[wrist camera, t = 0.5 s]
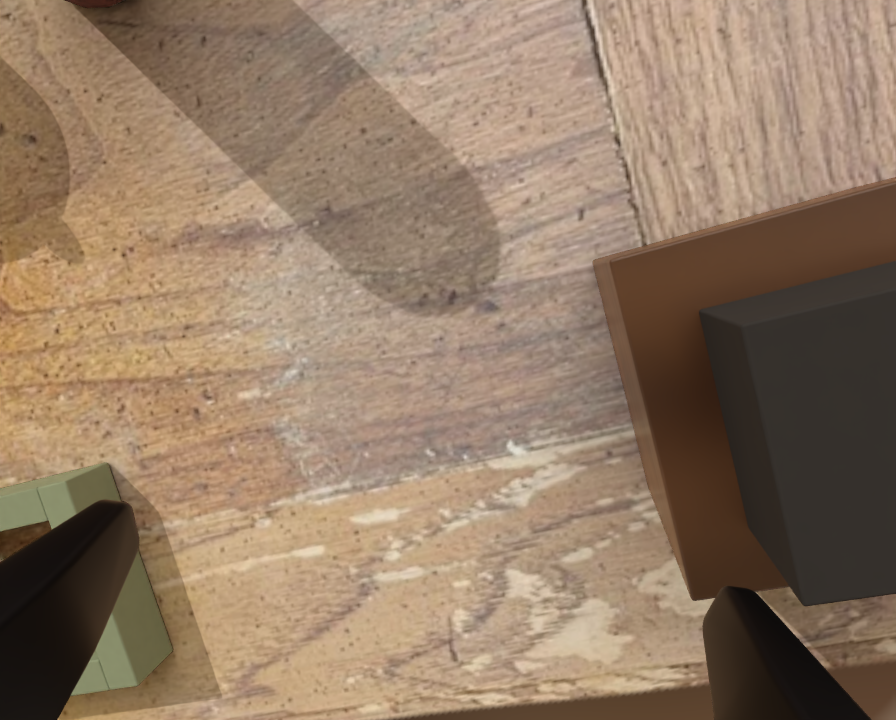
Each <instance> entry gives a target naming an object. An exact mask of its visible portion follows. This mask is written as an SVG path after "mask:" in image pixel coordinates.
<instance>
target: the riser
mask: <svg viewBox="0 0 896 720" xmlns="http://www.w3.org/2000/svg"><path fill="white" fill-rule="evenodd" d="M893 261H896V177H895V178H891V179H887V180H883V181H879V182H875V183H871V184H867V185H863V186H859V187H855V188H852V189H848V190H844V191H841V192H837V193H834V194H830V195H826V196H823V197H819V198H815V199H812V200H808V201H805V202H801V203H797V204H794V205H790V206H786V207H783V208H779V209H776V210H772V211H768V212H765V213H761V214H758V215H754V216H750V217H747V218H743V219H739V220H736V221H732V222H729V223H725V224H721V225H718V226H714V227H710V228H707V229H703V230H700V231H696V232H692V233H689V234H685V235H681V236H678V237H674V238H671V239H667V240H663V241H660V242H656V243H653V244H649V245H645V246H642V247H638V248H634V249H631V250H627V251H624V252H620V253H616V254H613V255H609V256H605V257H602V258H598V259H595V260H593V266H594V270H595V274H596V278H597V282H598V286H599V290H600V294H601V298H602V303H603V307H604V311H605V315H606V319H607V323H608V327H609V331H610V335H611V339H612V343H613V347H614V351H615V355H616V359H617V363H618V367H619V371H620V375H621V379H622V383H623V387H624V391H625V395H626V399H627V403H628V407H629V411H630V415H631V419H632V424H633V428H634V432H635V436H636V440H637V444H638V448H639V452H640V456H641V460H642V464H643V468H644V472H645V476H646V480H647V484H648V488H649V490H650V493H651V496H652V498H653V501H654V503H655V506H656V508H657V511H658V514H659V516H660V519H661V521H662V524H663V527H664V529H665V532H666V534H667V537H668V540H669V542H670V545H671V547H672V550H673V553H674V555H675V558H676V560H677V563H678V565H679V568H680V571H681V573H682V576H683V578H684V581H685V584H686V586H687V589H688V591H689V594H690V597H691V598H692V600H694V601H697V600H704V599H711V598H716V596H717V594H718V593H719V591H720V589H721V588H723V587H725V586H734V587H741V588H748V589H751V590H753V591H754V592H758V591H765V590H771V589H778V588H785V587H790V586H789V585H788V583H787V582H786V580H785V579H784V578H783V576H782V575H781V573H780V572H779V571H778V569H777V568H776V566H775V565H774V563H773V562H772V561H771V559H770V558H769V556H768V555H767V553H766V552H765V551H764V549H763V548H762V546H761V545H760V543H759V542H758V541H757V539H756V538H755V536H754V535H753V534H752V532H751V531H750V529H749V528H748V524H747V519H746V515H745V511H744V506H743V502H742V498H741V493H740V489H739V485H738V480H737V476H736V472H735V467H734V463H733V459H732V454H731V450H730V446H729V441H728V437H727V433H726V428H725V424H724V420H723V415H722V411H721V407H720V402H719V398H718V394H717V389H716V385H715V381H714V376H713V372H712V368H711V363H710V359H709V355H708V350H707V346H706V342H705V337H704V333H703V329H702V324H701V320H700V316H699V310H701V309H704V308H708V307H712V306H716V305H720V304H724V303H728V302H732V301H736V300H740V299H744V298H748V297H752V296H756V295H760V294H765V293H769V292H773V291H777V290H781V289H785V288H789V287H793V286H797V285H801V284H805V283H809V282H813V281H817V280H821V279H825V278H829V277H833V276H837V275H841V274H845V273H849V272H853V271H857V270H861V269H865V268H869V267H873V266H877V265H881V264H885V263H889V262H893Z"/></svg>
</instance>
